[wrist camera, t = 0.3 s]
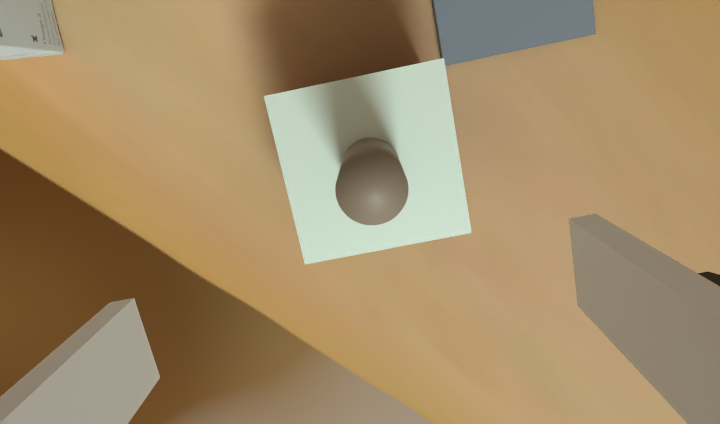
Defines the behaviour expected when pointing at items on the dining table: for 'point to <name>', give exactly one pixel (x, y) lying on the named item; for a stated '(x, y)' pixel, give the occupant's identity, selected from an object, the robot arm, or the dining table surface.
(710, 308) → the robot arm
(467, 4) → the plate
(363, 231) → the lid
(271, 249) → the dining table surface
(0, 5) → the supplement box
